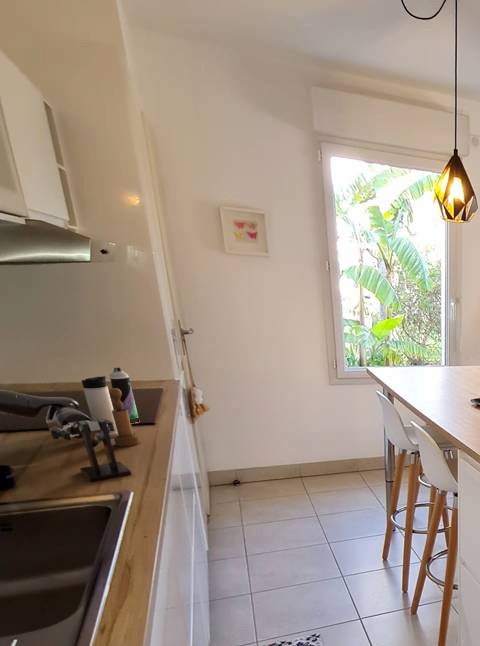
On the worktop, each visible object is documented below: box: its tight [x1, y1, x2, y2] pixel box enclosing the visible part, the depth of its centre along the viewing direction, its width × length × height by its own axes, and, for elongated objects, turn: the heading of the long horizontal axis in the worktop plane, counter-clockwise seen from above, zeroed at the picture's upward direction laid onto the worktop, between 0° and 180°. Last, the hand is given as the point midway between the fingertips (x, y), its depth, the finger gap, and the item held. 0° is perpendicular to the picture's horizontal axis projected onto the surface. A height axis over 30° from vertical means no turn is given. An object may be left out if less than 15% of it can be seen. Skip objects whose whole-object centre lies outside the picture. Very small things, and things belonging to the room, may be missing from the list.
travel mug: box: [80, 375, 118, 440], centre depth 180 cm, size 6×7×20 cm
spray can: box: [109, 367, 139, 425], centre depth 197 cm, size 6×6×20 cm
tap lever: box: [82, 421, 101, 448], centre depth 151 cm, size 14×4×4 cm
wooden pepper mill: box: [109, 388, 141, 448], centre depth 174 cm, size 7×6×18 cm
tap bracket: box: [79, 419, 132, 483], centre depth 149 cm, size 11×9×15 cm
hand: (88, 434), depth 155 cm, fingers open, 8 cm apart
